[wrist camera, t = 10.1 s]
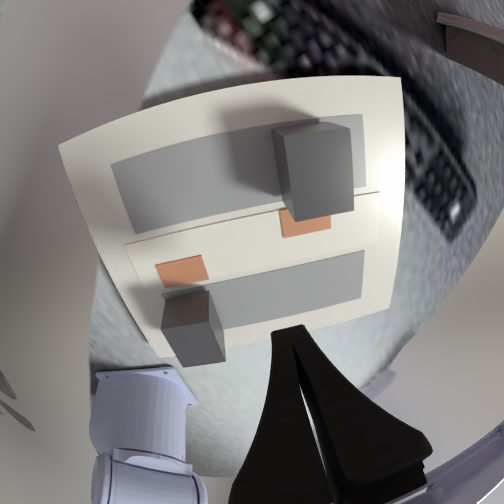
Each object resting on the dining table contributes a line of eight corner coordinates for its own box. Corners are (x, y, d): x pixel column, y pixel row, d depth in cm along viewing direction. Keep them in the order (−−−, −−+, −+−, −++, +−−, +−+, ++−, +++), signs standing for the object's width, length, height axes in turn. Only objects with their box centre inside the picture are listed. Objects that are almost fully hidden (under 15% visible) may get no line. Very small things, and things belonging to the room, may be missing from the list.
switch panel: (160, 344, 23) (158, 359, 21) (69, 140, 13) (55, 146, 12) (381, 296, 23) (390, 309, 21) (387, 77, 13) (402, 77, 12)
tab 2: (282, 200, 15) (294, 222, 13) (271, 128, 13) (283, 136, 11) (333, 190, 15) (354, 210, 13) (327, 121, 13) (350, 128, 11)
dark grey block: (185, 337, 20) (183, 367, 17) (165, 298, 18) (160, 329, 15) (223, 331, 20) (225, 361, 17) (209, 290, 18) (208, 321, 15)
